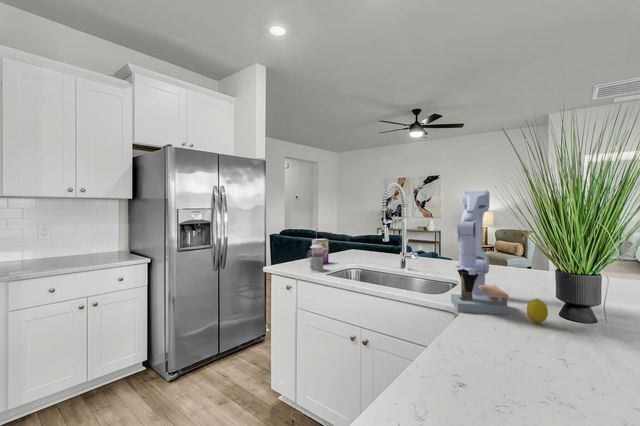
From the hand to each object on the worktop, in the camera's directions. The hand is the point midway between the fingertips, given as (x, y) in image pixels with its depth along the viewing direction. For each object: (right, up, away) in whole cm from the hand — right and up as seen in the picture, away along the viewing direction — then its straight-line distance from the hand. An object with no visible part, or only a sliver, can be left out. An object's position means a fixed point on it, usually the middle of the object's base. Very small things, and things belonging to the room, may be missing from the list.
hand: (467, 290), depth 115 cm
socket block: (+3, -6, -1) cm, 7 cm away
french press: (-57, -6, +71) cm, 92 cm away
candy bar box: (-54, -6, +93) cm, 108 cm away
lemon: (+14, -7, -16) cm, 23 cm away
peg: (0, -2, 0) cm, 2 cm away
